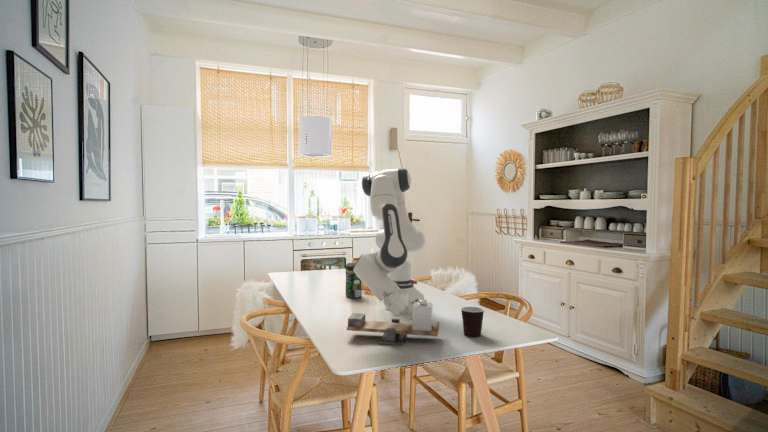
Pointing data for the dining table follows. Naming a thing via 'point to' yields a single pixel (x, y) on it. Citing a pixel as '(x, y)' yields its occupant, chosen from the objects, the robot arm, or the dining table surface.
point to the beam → (385, 326)
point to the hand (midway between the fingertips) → (411, 317)
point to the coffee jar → (352, 282)
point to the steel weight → (422, 316)
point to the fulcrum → (392, 336)
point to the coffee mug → (472, 321)
